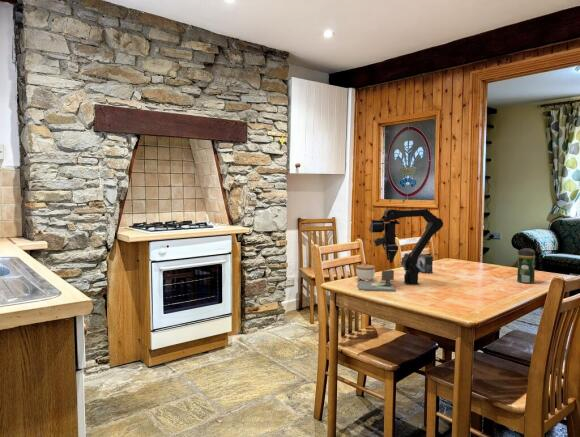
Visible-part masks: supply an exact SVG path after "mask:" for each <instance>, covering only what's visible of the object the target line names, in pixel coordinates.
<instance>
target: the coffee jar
mask: <svg viewBox="0 0 580 437" xmlns="http://www.w3.org/2000/svg"><path fill="white" fill-rule="evenodd" d="M535 261H536V251H535V250H534V249H533V248H530V247H529V248H527V247H524V248H522V249H520V250H518V251H517V274H516V275H517V277H516V279H517V280H516V281H517V282H518V283H523V284H533V283H534V282H535V274H536V273H535V270H536V268H535V267H536V262H535Z"/></svg>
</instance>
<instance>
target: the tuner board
mask: <svg viewBox="0 0 580 437" xmlns="http://www.w3.org/2000/svg"><path fill="white" fill-rule="evenodd" d="M392 282H393V281H390V283H391V284H392V285H391V286H386V285H378V286H371V285H372V284H382V283H385V281H372V280H370V281H362V280H359V281H356V283H358V284H357V287H359V288H358V291H359V290H364V291H363V292H366V291H367V292H394V293H395V292H397V288H396V287H395V286H394V284H393V283H392Z"/></svg>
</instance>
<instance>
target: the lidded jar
mask: <svg viewBox="0 0 580 437" xmlns="http://www.w3.org/2000/svg"><path fill="white" fill-rule="evenodd" d="M355 272H356V276H357V278H358V279H359V280H360V279H362V280H370V281H372V280H373V278H374V277H375V273H376V266H375V265H372V264H368V263H366V262H365V263H364V264H357V265H355ZM362 280H361V281H362Z"/></svg>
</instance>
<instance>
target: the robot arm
mask: <svg viewBox="0 0 580 437" xmlns="http://www.w3.org/2000/svg"><path fill="white" fill-rule="evenodd" d="M412 217H415V218H416V217H422V218H423V219H424V221H425V222H427V223H426V225H425V231H424V232H423V233H422V235H421V237H420V238H419V239H418V241H417V243H416V244H415V246H414V247H413V248H412V250H411V251H410V253H404V255H403V257H402V258H401V262H400V264H401V266H402V268H403V269H404V271H405V272H404V275H403V276H404V277H403V283H405V285H415V286H416V285H419V284H420V283H419V274H420V272H419V271H420V269H419V268H418V267H417V266H416V264H417V261H418V257H419V255H420V254H422V252H423V250H424V249H425V248H426V246H427V245H428V243H429V242H430V240H431V239H432V238H433V236H434V235H435V234H436V233H438V232H439V231H440V229H442V228H443V226H444V221H443V219H441V218H440V217H437V216H436V215H435V214H434V213H432V212H431V211H430V210H429V209H427V208H421V209H417V208H416V209H393V208H387V209H385V210H384V212H383V215H382V217H381V218H380V219H371V221H370V225H369V231H370V233H377V234H378V233H379V234H380V233H383V232H384V234H383V235H382V237H378V238H376V239H373V240H372V241H373V243H374V245H375V247H379V246H381V247H382V249H383V250H384V251H385V255H386V260H387V261H388V262H389V264H392V263H393V262H394V259H395V257H396V255H397V253H398V251H399V246H398V245H397V242H396V237H397V235H396V230H397V229H396V226H397V225H400V224H401V223H400V222H399V221H398V219H401V218H412Z"/></svg>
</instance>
